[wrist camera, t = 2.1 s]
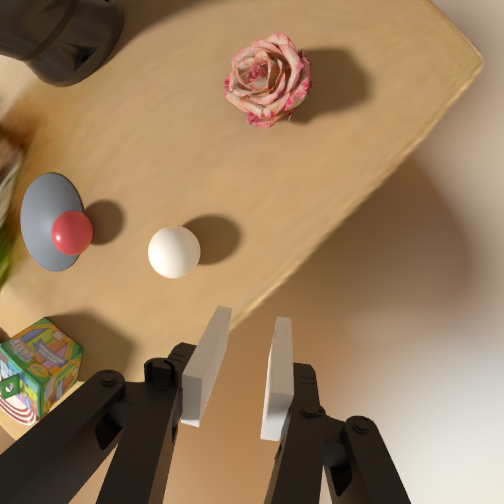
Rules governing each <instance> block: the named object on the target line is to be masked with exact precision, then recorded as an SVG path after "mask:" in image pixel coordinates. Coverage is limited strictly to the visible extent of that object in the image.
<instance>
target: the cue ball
mask: <svg viewBox="0 0 504 504" xmlns="http://www.w3.org/2000/svg"><path fill="white" fill-rule="evenodd" d="M148 255H149V260H150V263H151V265H152V266H153V268H154V269H155V270H156V271H157V272H158V273H159V274H161V275H162V276H164V277H167V278H181V277H184V276H186V275H188V274H190V273H191V272H192V271H193V270H194V269H195V267H196V266H197V264H198V262H199V259H200V245H199V242H198V240H197V238H196V236H195V235H194V234H193V233H192V232H191V231H190V230H188V229H186V228H184V227H182V226H176V225H173V226H167V227H164V228H162V229H161V230H159V231H158V232H157V233H156V234H155V235H154V236H153V237H152V239H151V241H150V244H149V249H148Z"/></svg>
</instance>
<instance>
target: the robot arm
mask: <svg viewBox="0 0 504 504" xmlns="http://www.w3.org/2000/svg"><path fill="white" fill-rule="evenodd" d="M123 20H124V17H123V11H122V9H121V7H120V6H119V5H118V4H117V3H116V2H115V1H114V0H0V55H4V56H7V57H11V58H14V59H17V60H20V61H23V62H24V63H25V64H26V65H27V66H28V67H29V68H30V69H31V70H32V71H33V72H34V73H35V74H36V75H37V76H38V78H39V79H40V80H42V81H43V82H45V83H47V84H50V85H53V86H56V87H66V86H70V85H73V84H75V83H77V82H79V81H81V80H83V79H84V78H86V77H87V76H88V75H90V74H91V73H92V72H93V71H94V70H95V69H96V68H97V67H98V66H99V65H100V64H101V63H102V62H103V61H104V60H105V59H106V57H107V56H108V55H109V53H110V52H111V51H112V49H113V47H114V46H115V44H116V42H117V40H118V38H119V36H120V33H121V30H122V27H123ZM231 310H232V308H228V307H223V306H218V307H217V309H216V311H215V313H214V315H213V317H212V318H211V320H210V322H209V324H208V326H207V328H206V330H205V332H204V334H203V336H202V337H201V339H200V341H199V343H198V345H197V346H196V345H192V344H187V343H183V342H182V343H180V344H178V345H176V346H175V347H174V348H173V350H172V351H171V353H170V354H169V356H168V358H167V359H166V358H152V359H150V360H148V361H146V363H145V364H144V374H145V382H126V381H125V379H124V377H123V375H122V374H120V373H119V372H117V371H114V370H102V371H99V372H97V373H96V374H94V375H93V376H92V377H91V378H90V379H89V380H87V381H86V382H85V383H84V384H83V385H81V386H80V387H79V388H78V389H77V390H76V391H74V392H73V393H72V394H71V395H70V396H68V397H67V398H66V399H65V400H64V401H63V402H61V403H60V404H59V405H58V406H57V407H56V408H54V409H53V410H52V411H51V412H50V413H49V414H47V415H46V416H45V417H44V418H43V419H41V420H40V421H39V422H38V423H37V424H36V425H34V426H33V427H32V428H31V429H30V430H29V431H28V432H26V433H25V434H24V435H23V436H22V437H21V438H19V439H18V440H17V441H16V442H15V443H14V444H12V445H11V446H10V447H9V448H8V449H7V450H6V451H4V452H3V453H2V454H1V455H0V504H68V503H69V502H70V501H71V499H72V498H73V497H74V496H75V495H76V494H77V492H78V491H79V490H80V489H81V488H82V486H83V485H84V484H85V483H86V482H87V480H88V479H89V478H90V477H91V476H92V474H93V473H94V472H95V471H96V470H97V468H98V467H99V466H100V465H101V463H102V462H103V461H104V460H105V459H106V457H107V456H108V455H109V454H110V452H111V451H112V450H113V449H114V448H115V447H116V445H117V444H118V446H117V448H116V451H115V454H114V456H113V459H112V461H111V464H110V466H109V469H108V471H107V474H106V477H105V479H104V482H103V485H102V487H101V490H100V493H99V495H98V498H97V501H96V504H162V503H163V498H164V493H165V489H166V483H167V479H168V474H169V469H170V464H171V460H172V454H173V450H174V446H175V441H176V436H177V432H178V422H179V419H180V417H181V423H185V424H189V425H193V426H198V427H199V425H200V422H201V419H202V417H203V414H204V411H205V408H206V405H207V403H208V400H209V397H210V394H211V391H212V388H213V385H214V382H215V380H216V377H217V374H218V371H219V368H220V366H221V363H222V360H223V357H224V354H225V351H226V347H227V339H228V332H229V324H230V317H231ZM280 436H281V443H280V445H279V448H278V451H277V453H276V456H275V464H274V468H273V471H272V475H271V479H270V483H269V487H268V490H267V494H266V497H265V501H264V504H319V499H320V490H321V480H322V469H323V465H324V470H325V474H326V478H327V483H328V487H329V491H330V496H331V500H332V504H411V502H410V500H409V498H408V495H407V493H406V490H405V488H404V486H403V483H402V481H401V479H400V477H399V474H398V472H397V470H396V468H395V465H394V463H393V461H392V459H391V456H390V454H389V452H388V450H387V448H386V445H385V443H384V441H383V439H382V437H381V435H380V433H379V430H378V428H377V426H376V425H375V423H374V422H373V421H371V420H370V419H369V418H366V417H364V416H352V417H350V418H348V419H347V420H346V422H343V421H340V420H337V419H334V418H331V417H329V416H327V415H326V412H325V410H324V409H323V407H322V406H320V402H319V395H318V387H317V380H316V374H315V371H314V369H313V368H312V366H311V365H309V364H301V363H294V362H293V351H292V328H291V318H285V317H279V316H278V317H277V321H276V326H275V331H274V336H273V340H272V345H271V350H270V355H269V362H268V372H267V382H266V392H265V402H264V411H263V420H262V430H261V439H266V440H274V441H279V439H280Z"/></svg>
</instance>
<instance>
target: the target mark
mask: <svg viewBox="0 0 504 504" xmlns="http://www.w3.org/2000/svg"><path fill="white" fill-rule="evenodd" d="M70 210H76V211H79V212H82V213H83V208H82V205H81V201H80V199H79V196H78V194H77V192H76V190H75V189H74V187H73V186H72V184H71V183H70V182H69V181H68V180H67V179H65V178H64V177H63V176H61V175H58V174H54V173H47V174H43V175H41V176H39V177H38V178H36V179H35V180H34V181H33V182H32V183H31V185H30V186H29V188H28V189H27V191H26V194H25V196H24V199H23V203H22V208H21V229H22V235H23V238H24V242H25V244H26V247H27V249H28V251H29V253H30V254H31V256H32V257H33V259H34V260H35V261H36V262H37V263H38V264H39V265H40V266H42V267H43V268H45V269H47V270H50V271H62V270H65V269H67V268H68V267H70V266H71V265H72V264H73V263H74V262H75V260H76V259H77V257H78V255H79V254H78V255H66V254H63V253H62V252H60V251H59V250H58V249H57V248H56V247H55V245H54V243H53V240H52V227H53V224H54V222H55V220H56V219H57V217H58V216H59V215H61V214H62V213H64V212H66V211H70ZM83 214H84V213H83Z"/></svg>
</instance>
